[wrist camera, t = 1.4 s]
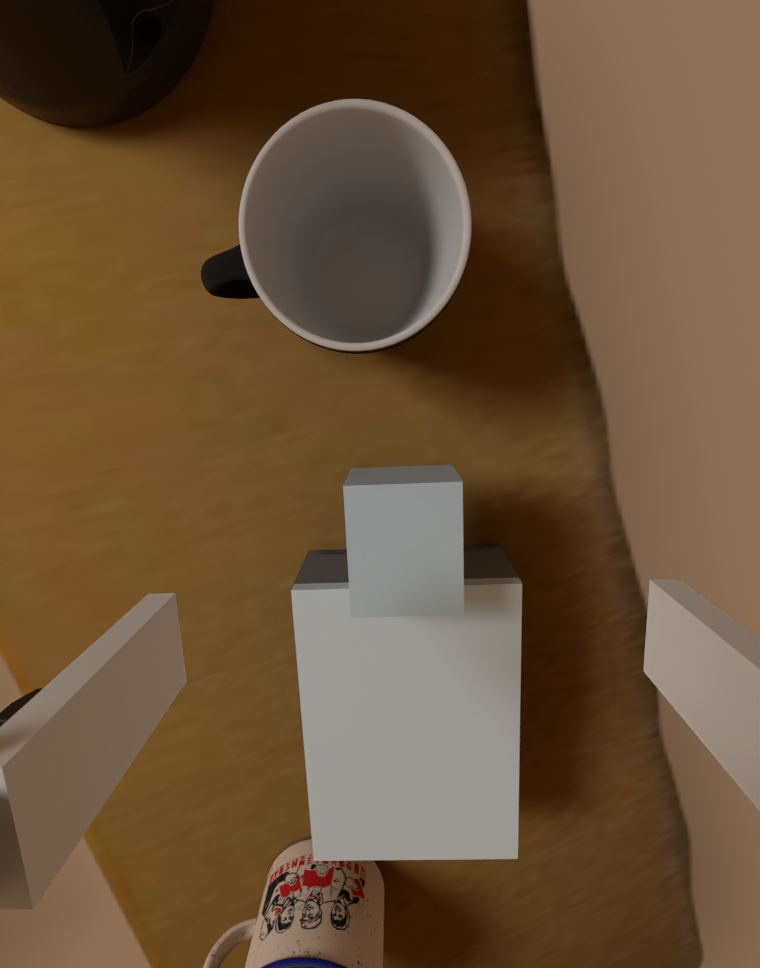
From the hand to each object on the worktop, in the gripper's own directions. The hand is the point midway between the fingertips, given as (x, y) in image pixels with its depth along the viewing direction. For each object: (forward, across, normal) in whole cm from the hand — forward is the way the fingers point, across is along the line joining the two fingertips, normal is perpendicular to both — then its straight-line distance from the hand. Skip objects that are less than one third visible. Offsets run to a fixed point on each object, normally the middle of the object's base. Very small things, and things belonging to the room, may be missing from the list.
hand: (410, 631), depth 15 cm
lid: (+13, 0, -9) cm, 16 cm away
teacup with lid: (+18, -8, -30) cm, 36 cm away
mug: (+18, -3, +12) cm, 22 cm away
